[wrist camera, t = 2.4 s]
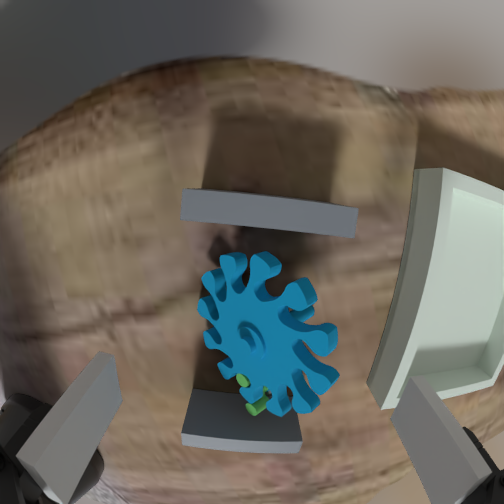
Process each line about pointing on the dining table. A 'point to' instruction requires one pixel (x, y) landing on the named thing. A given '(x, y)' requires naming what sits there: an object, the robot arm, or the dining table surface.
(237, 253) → the gear
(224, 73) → the dining table surface
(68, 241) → the dining table surface
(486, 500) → the robot arm
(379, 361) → the parts tray
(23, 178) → the dining table surface
